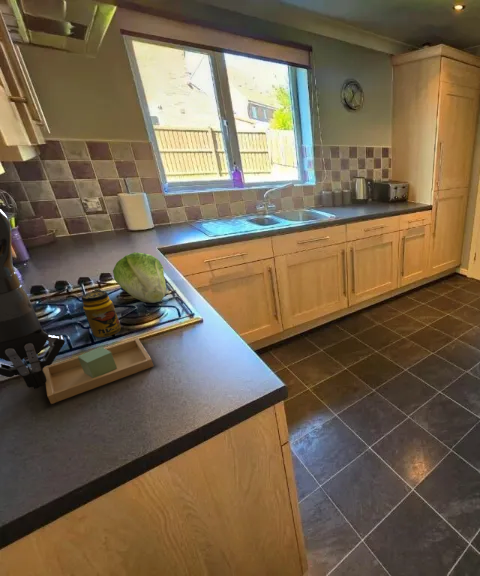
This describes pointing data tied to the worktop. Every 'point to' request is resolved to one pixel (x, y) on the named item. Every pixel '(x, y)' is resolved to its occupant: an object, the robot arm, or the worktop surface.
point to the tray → (73, 380)
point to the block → (97, 362)
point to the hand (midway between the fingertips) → (38, 385)
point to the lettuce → (141, 277)
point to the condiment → (101, 314)
